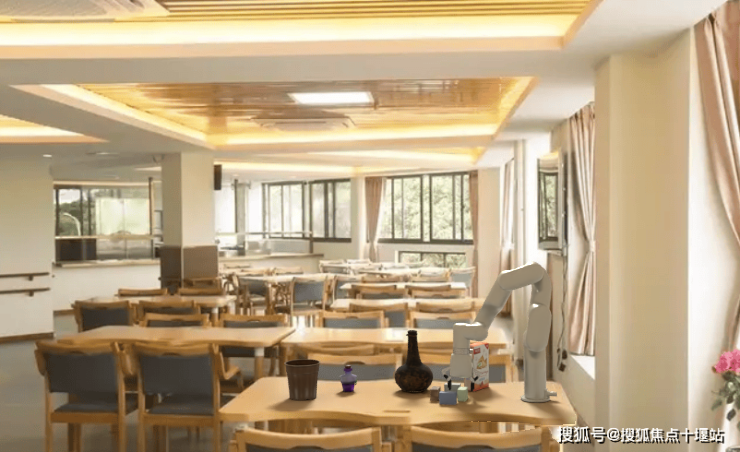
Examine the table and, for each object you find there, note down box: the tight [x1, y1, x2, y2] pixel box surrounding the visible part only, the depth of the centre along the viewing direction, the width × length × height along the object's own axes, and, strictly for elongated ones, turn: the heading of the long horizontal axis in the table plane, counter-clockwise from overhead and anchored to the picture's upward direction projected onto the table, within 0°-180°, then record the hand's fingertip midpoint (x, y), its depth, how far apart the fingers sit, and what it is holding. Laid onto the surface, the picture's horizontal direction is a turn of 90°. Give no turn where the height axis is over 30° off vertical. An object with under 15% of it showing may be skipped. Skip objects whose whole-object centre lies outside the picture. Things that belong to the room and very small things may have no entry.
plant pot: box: [283, 358, 321, 401], centre depth 376 cm, size 16×16×16 cm
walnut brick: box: [429, 385, 442, 402], centre depth 368 cm, size 4×7×5 cm, turn 165°
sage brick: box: [457, 386, 469, 402], centre depth 366 cm, size 4×7×5 cm, turn 165°
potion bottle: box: [339, 364, 358, 393], centre depth 389 cm, size 9×9×12 cm
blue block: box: [438, 390, 458, 406], centre depth 359 cm, size 7×4×5 cm, turn 75°
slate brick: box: [443, 382, 462, 397], centre depth 376 cm, size 7×4×5 cm, turn 75°
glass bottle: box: [394, 329, 434, 393], centre depth 387 cm, size 18×18×28 cm
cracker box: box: [463, 341, 490, 392], centre depth 389 cm, size 14×6×21 cm, turn 143°
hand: (460, 390), depth 366 cm, fingers open, 9 cm apart
